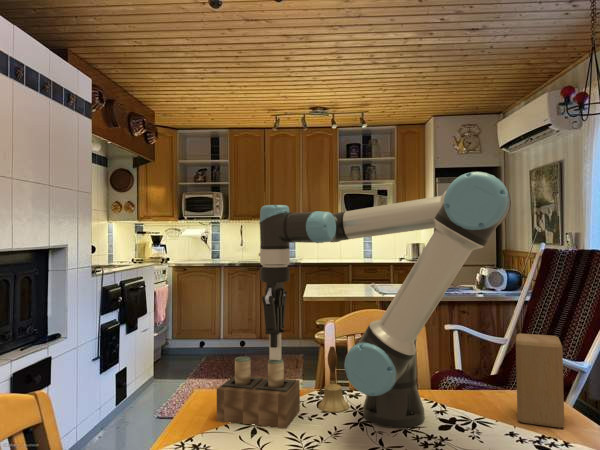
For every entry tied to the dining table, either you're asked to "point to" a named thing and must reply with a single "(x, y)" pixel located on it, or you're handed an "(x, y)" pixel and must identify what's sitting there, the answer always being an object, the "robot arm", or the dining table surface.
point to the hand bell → (333, 389)
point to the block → (539, 380)
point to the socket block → (258, 402)
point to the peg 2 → (276, 373)
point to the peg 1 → (242, 371)
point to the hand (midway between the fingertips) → (275, 359)
